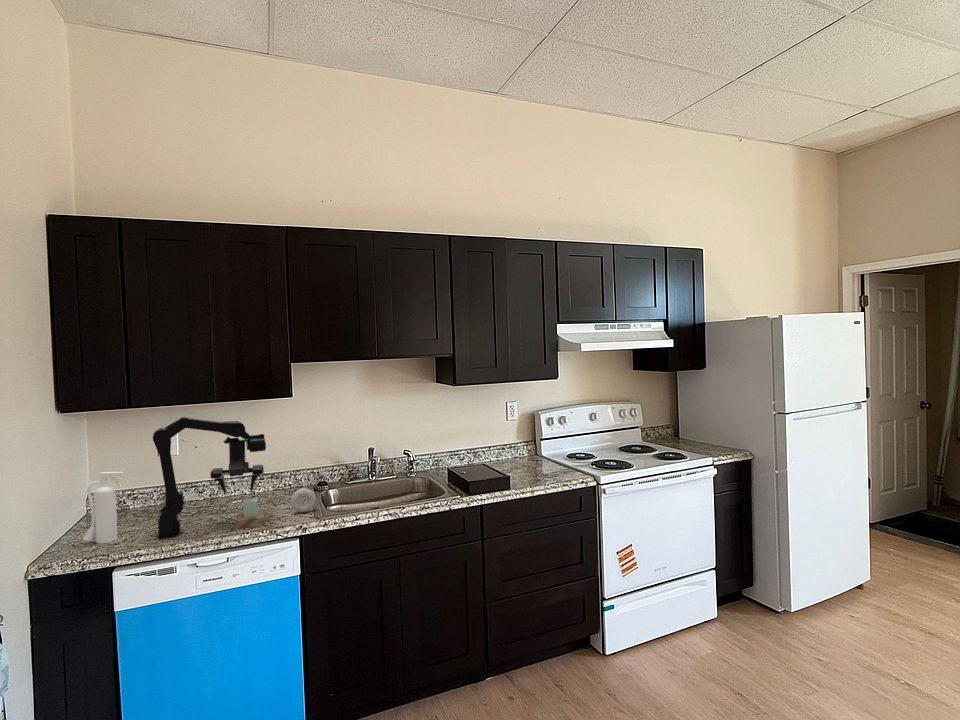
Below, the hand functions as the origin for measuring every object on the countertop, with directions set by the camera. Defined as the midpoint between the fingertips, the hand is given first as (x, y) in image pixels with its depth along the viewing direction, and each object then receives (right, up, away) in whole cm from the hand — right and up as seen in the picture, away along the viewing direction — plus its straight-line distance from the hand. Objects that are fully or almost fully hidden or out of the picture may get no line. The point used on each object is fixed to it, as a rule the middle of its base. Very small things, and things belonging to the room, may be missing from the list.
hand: (238, 493), depth 211 cm
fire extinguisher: (-41, -13, -16) cm, 46 cm away
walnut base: (+6, -12, -2) cm, 14 cm away
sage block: (+6, -8, -2) cm, 10 cm away
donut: (+22, -11, +12) cm, 27 cm away
